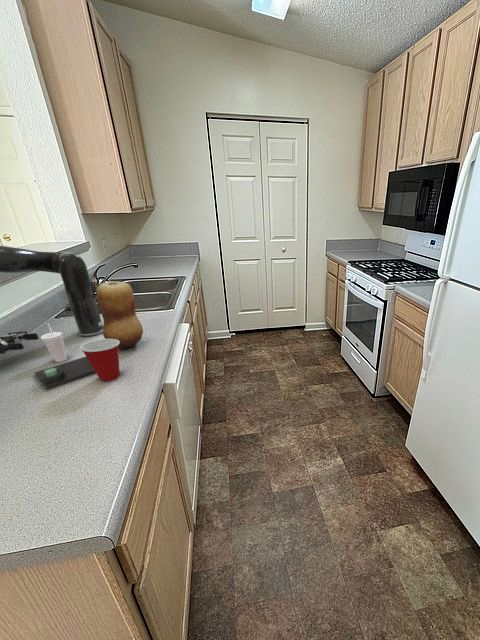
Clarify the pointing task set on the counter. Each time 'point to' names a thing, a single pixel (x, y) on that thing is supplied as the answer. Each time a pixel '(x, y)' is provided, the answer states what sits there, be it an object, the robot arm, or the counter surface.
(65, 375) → the scale
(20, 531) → the counter surface
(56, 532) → the counter surface
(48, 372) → the button
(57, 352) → the smoothie
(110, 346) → the plastic cup
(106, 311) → the butternut squash
